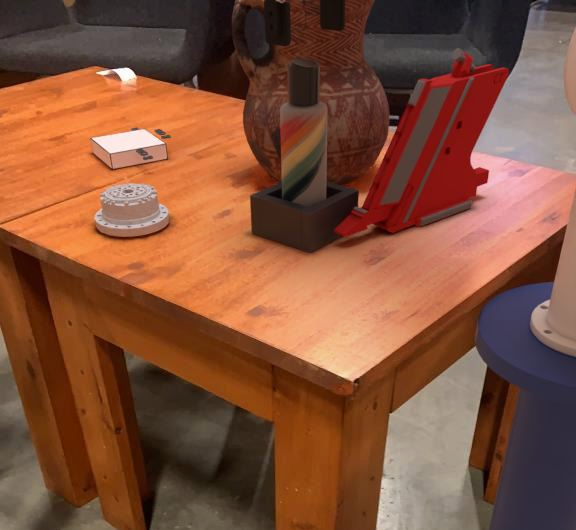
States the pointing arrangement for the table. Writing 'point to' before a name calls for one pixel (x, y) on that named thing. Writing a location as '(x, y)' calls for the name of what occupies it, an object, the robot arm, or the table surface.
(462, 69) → the tool
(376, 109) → the jug
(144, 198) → the mechanical component
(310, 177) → the lotion bottle
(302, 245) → the holder
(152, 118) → the table surface
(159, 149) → the container
